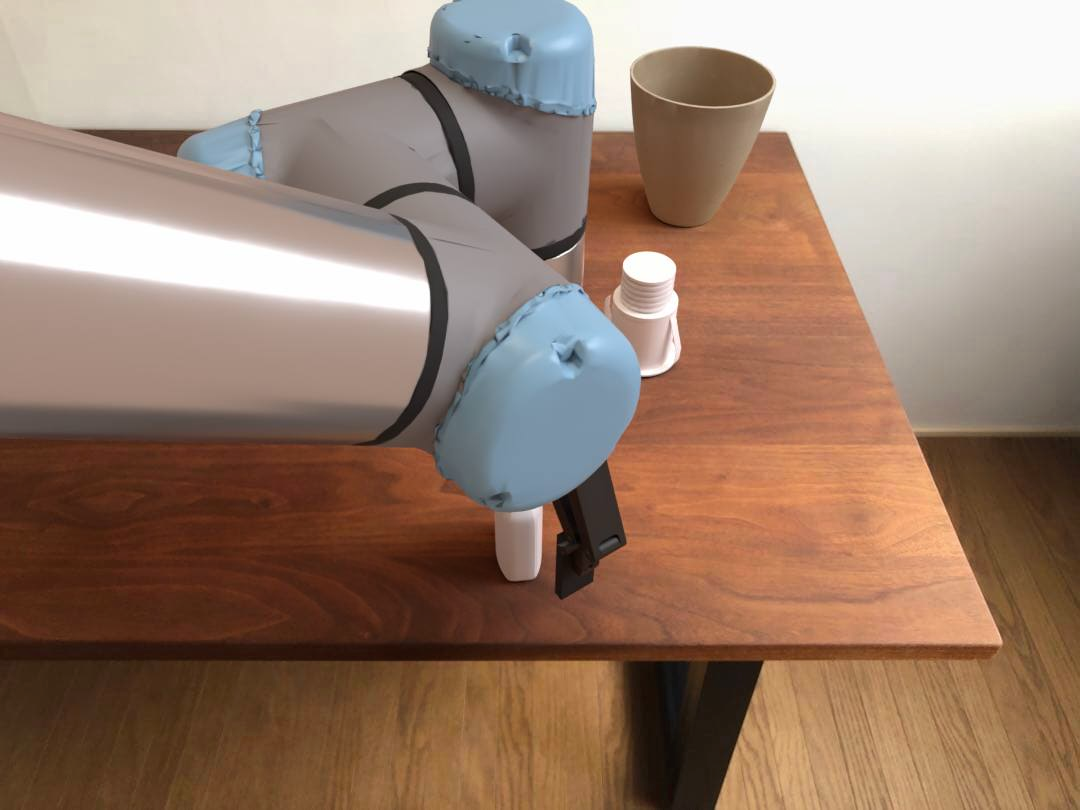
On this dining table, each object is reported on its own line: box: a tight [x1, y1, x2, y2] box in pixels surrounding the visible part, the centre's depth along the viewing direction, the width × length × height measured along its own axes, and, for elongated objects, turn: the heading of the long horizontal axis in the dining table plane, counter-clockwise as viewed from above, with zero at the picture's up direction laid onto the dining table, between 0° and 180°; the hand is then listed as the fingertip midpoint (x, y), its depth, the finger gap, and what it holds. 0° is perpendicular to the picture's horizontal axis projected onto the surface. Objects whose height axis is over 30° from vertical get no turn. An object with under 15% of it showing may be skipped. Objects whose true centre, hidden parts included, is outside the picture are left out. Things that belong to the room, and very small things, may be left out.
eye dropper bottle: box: [493, 505, 544, 582], centre depth 64 cm, size 4×6×12 cm
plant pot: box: [629, 45, 777, 228], centre depth 97 cm, size 15×15×16 cm
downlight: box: [603, 251, 682, 378], centre depth 81 cm, size 8×7×10 cm
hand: (519, 521), depth 65 cm, fingers open, 13 cm apart
